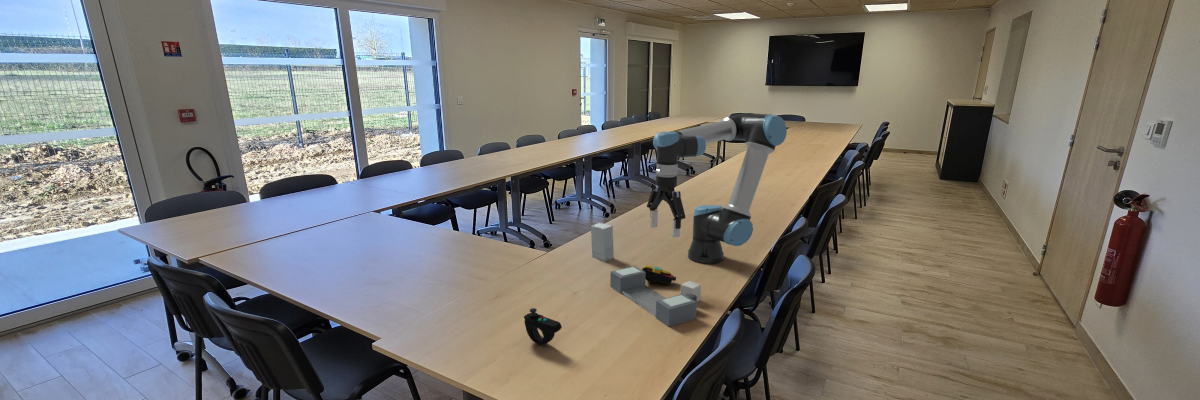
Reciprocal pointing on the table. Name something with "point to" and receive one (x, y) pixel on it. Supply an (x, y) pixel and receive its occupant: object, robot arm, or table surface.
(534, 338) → the controller
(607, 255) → the skincare box
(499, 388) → the table surface
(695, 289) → the block
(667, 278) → the gadget
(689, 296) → the dark grey pebble
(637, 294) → the rail
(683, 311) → the block
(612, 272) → the block
